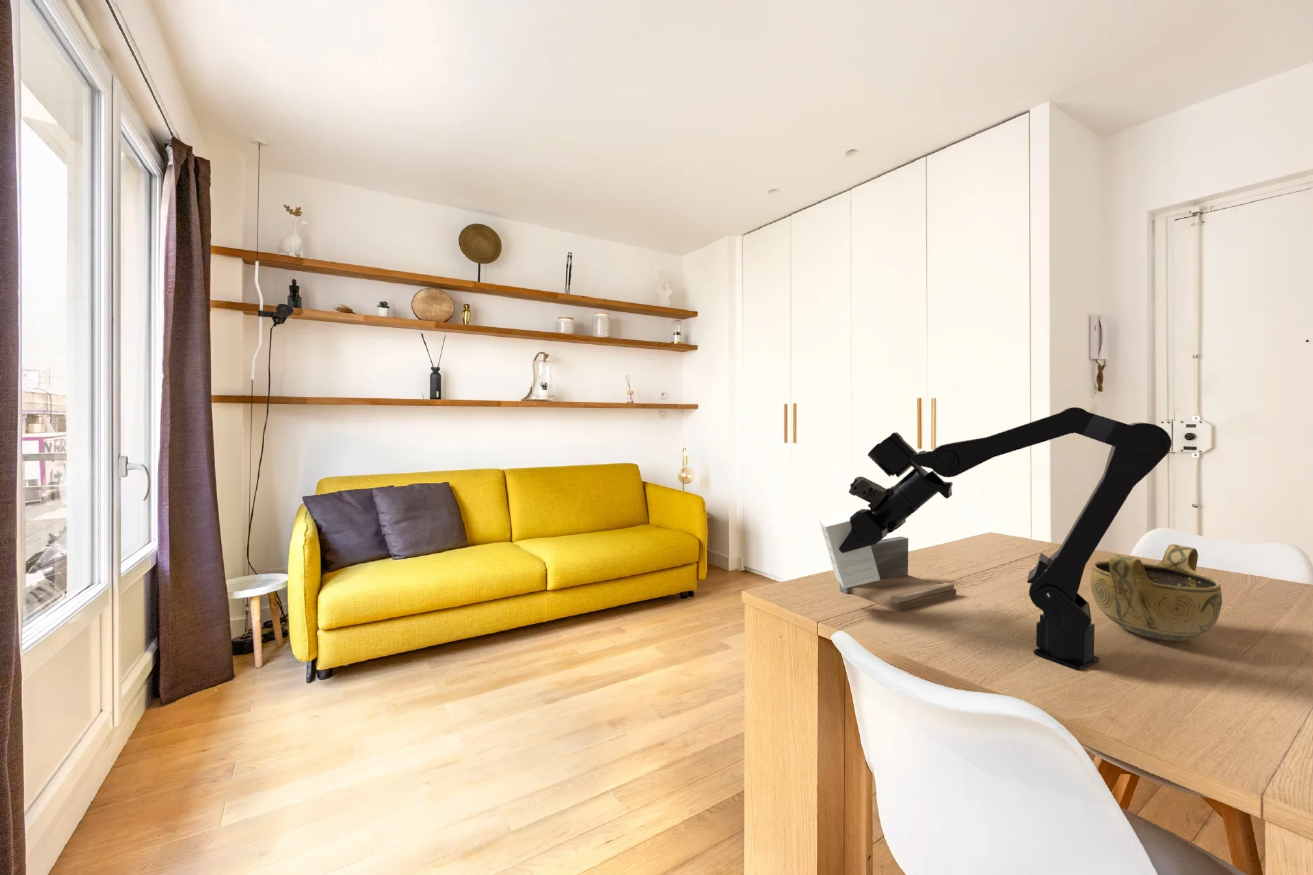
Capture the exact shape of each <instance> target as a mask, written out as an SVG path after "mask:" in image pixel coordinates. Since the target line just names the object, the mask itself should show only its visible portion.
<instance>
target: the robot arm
mask: <svg viewBox="0 0 1313 875" xmlns="http://www.w3.org/2000/svg"><path fill="white" fill-rule="evenodd" d="M1070 434H1077V435H1081V436H1084V437H1086V438H1089V439H1092V440H1095V441H1097V442H1100V443H1103V444H1106V445H1109V446H1111V447H1110V450H1109V453H1108V457H1107V461H1106V464H1105V467H1104V471H1103V473H1102V476H1101V478H1100V479H1099V481H1098V482H1097V484H1096V486H1095V487H1094V489H1093V491H1092V493H1091V494H1090V495H1089V498H1088V500H1087V501H1086V503H1085V505H1084V506H1083V508H1082V510H1081V512H1080V513H1079V514H1078V516H1077V518H1076V520H1075V521H1074V523H1073V525H1072V526H1071V529H1070V530H1069V531H1068V533H1067V534H1066V537H1065V538H1064V539H1063V542H1062V544H1060V547H1059V548H1058V549H1057V551H1056V552H1054V553H1053V554H1052V555H1051V556H1050V557H1048V556H1047V555H1045V554H1044V553H1040V554H1039V557H1038V560H1037V563H1036V565H1035V566H1034V567H1033V568H1032V569H1031V570H1030V571H1029V572H1028V575H1027V580H1026V582H1027V584H1029V589H1028V596H1029V598H1030V601H1031V602H1032V604H1033V605H1034V606H1035V607H1037V608H1038V609H1039V610H1041V611H1042V612H1043V613H1042V614H1039V621H1038V622H1036V626H1035V627H1036V628H1035V629H1036V633H1035V639H1036V641H1035V646H1036V647H1037V648H1035V649H1033V654H1034V655H1037V656H1039V657H1041V658H1042V657H1043V658H1045V659H1048V660H1051V661H1053V662H1056V663H1058V664H1062V665H1065V666H1067V667H1070V668H1073V669H1075V670H1082V669H1084V668H1087V667H1089V666H1092V665H1093V664H1096V663H1098V662H1100V657H1099V656H1095V631H1096V630H1095V623H1092V614H1091V613H1092V612H1091V607H1090V603H1089V602H1088V601H1087V600H1086V599H1085V598H1084V597H1082V595H1081V594H1080V593H1078V591H1079V589H1080V585H1081V582H1082V578H1083V576H1084V571H1085V568H1086V565H1087V564H1088V561H1089V560H1090V558H1091V556H1092V555H1093V554H1094V552H1095V551H1096V549H1097V547H1098V545H1099V544H1100V542H1101V541H1102V539H1103V537H1105V536H1104V535H1105V534H1106V532H1107V531H1108V529H1109V528H1110V526H1111V524H1112V523H1113V521H1114V519H1115V517H1116V516H1117V515H1118V513H1119V511H1120V510H1121V508H1122V507H1123V505H1124V503H1125V502H1126V500H1127V498H1128V497H1129V495H1130V494H1131V492H1132V490H1133V489H1134V488H1135V486H1136V485H1137V484H1138V483H1139V482H1140V481H1141V480H1143V479H1144V478H1146V476H1147V475H1148V474H1149V473H1150V472H1152V470H1153V469H1154V468H1155V467H1156V466H1158V465H1159V463H1160V462H1162V460H1163V459H1164V458H1165V457H1166V456H1167V455H1168V453H1169V452H1170V451H1171V448H1172V445H1173V444H1172V442H1173V441H1172V437H1171V436H1170V434H1169V432H1168V431H1166V429H1165V428H1163V427H1161V426H1159V425H1158V424H1153V423H1148V422H1142V421H1141V422H1132V423H1129V424H1128V423H1125V422H1121V421H1119V420H1114V419H1112V418H1109V417H1106V416H1102V415H1099V414H1095V413H1092V412H1090V411H1087V410H1086V409H1084V408H1081V407H1076V406H1075V407H1074V406H1073V407H1068V408H1066V409H1064V410H1062V411H1060V412H1058V413H1056V414H1052V415H1049V416H1046V417H1043V418H1039V419H1037V420H1035V421H1031V422H1028V423H1025V424H1022V425H1020V426H1016V427H1013V428H1010V429H1007V430H1005V431H1004V430H1003V431H1002V432H998V433H995V434H992V435H989V436H985V437H980V438H979V437H978V438H975V439H974V438H973V439H967V440H961V441H960V440H959V441H955V442H949V443H945V444H941V445H939V446H936V447H935V448H934V449H933V450H931V451H930V450H929V451H928V450H927V451H926V450H920V451H919V452H917V451H916V450H915V449H914V448H913V447H912V446H911V445H910V444H909V443H908V442H906V441H905V439H904V438H903V436H902V435H901V434H900V433H899V432H896V431H895V432H892V433H891V434H890V435H889V436H888V437H886V438H884V439H883V440H882V441H881V442H879V443H877V444H876V445H874V446H873V448H872V449H871V450H870V451H869V452H868V453H867V457H868V458H870V459H871V460H872V462H874V464H876V465H877V466H878V467H879V468H880V469H881V471H883V472H884V473H885V474H886V475H887V476H888V477H891V476H892V477H894V476H896V477H897V478H900V477H901V476H903V475H904V474H906V472H907V471H908V470H910V469H911V467H912V470H911V471H909V473H907V474H906V475H905V476H904V477H902V478H901V480H899V481H898V482H897V483H896V484H895V485H894V486H893V485H892V486H891V487H887V488H886V487H884V486H882V485H881V484H878V483H877V482H875V481H873V480H870V479H869V478H866V477H864V476H861V475H860V476H858V477H857V476H856V477H855V478H854V479H853V482H851V483H850V484H849V490H848V493H849V494H850V495H851V496H853V497H854V496H855V497H858V498H859V499H861V500H864V501H866V502H867V503H869V504H868V505H867V507H868V508H869V509H867V508H861V509H859V510H857V511H855V512H854V513H855V514H853V515H852V516H851V517H850V524H851V531H850V533H849V534H848V536H847V537H846V539H845V540H844V542H843V543H842V545H841V546H840V547H839V550H840V551H841V552H842V553H845V552H849V551H852V550H856V549H860V548H863V547H867V546H871V545H875V544H876V543H878V542H879V541H880V540H883V539H885V537H887V536H888V534H890V533H893V532H894V531H896V530H898V529H899V528H900V527H901V526H904V525H905V523H906V522H907V519H908V518H909V517H910V516H911V515H913V514H914V513H916V512H917V511H918V510H919V509H920V508H921V507H922V506H923V505H925V504H926V503H927V502H928V501H929V500H930V499H932V498H933V497H935V496H936V495H937V494H938V493H939V494H940V495H941V496H942V497H943V498H944V499H949V498H950V497H952V496H953V492H952V491H953V490H952V489H953V488H952V487H953V481H944V480H943V479H942V478H941V477H943V478H954V477H956V476H959V475H962V474H963V473H965V472H967V471H969V470H971V469H973V468H975V467H977V466H979V465H981V464H982V463H985V462H987V461H989V460H991V459H993V458H996V457H1000V456H1003V455H1007V454H1009V453H1012V452H1015V451H1018V450H1019V451H1020V450H1022V449H1024V448H1025V449H1026V448H1028V447H1032V446H1034V445H1038V444H1041V443H1045V442H1048V441H1051V440H1054V439H1057V438H1061V437H1064V436H1066V435H1070ZM925 468H927V469H932V470H931V471H930V472H928V471H927V470H926V469H925Z"/></svg>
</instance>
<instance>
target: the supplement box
mask: <svg viewBox="0 0 1313 875" xmlns="http://www.w3.org/2000/svg"><path fill="white" fill-rule="evenodd" d="M855 513H856V512H854V511H852V512H848V513H846V514H845V513H844V514H841V515H836V516H833V517H828V518H825V519H821V520H819V524H820V527H821V530H822V535H823V538H824V541H825V544H826V545H825V546H826V547H827V551H828V555H829V560H830V562H831V563H830V564H831V565H832V570H833V574H834V576H835V579H836V580H837V581H838V583H839V585H840V584H841V586H842V587H843V588H848V587H852V586H857V585H861V584H865V583H870V582H874V581H878V580H880V577H879V573H878V570H877V566H876V563H875V559H874V556H873V552H872V549H871V546H867V547H863V548H860V549H856V550H852V551H849V552H845V553H842V552H841V551H840V550H839V547H840V546H841V545H842V543H843V542H844V540H845V539H846V537H847V536H848V534H849V533H850V531H851V524H850V517H851V516H852V515H853V514H855Z"/></svg>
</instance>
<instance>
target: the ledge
mask: <svg viewBox="0 0 1313 875" xmlns="http://www.w3.org/2000/svg"><path fill="white" fill-rule="evenodd" d="M871 549H872V552H873V556H874V559H875V563H876V566H877V570H878V573H879V577H880V580H878V581H874V582H870V583H865V584H861V585H857V586H852V587H848V588H843V587H842V586H841V584H840V583H839V592H841V593H844V594H851V595H854V596H857V595H858V596H857V597H860V598H864V599H865V600H868V601H871V602H873V603H876V604H879V605H880V606H884V607H886V606H887V607H886V608H889V609H892V610H895V611H897V610H898V611H897V612H902V611H901V610H903V611H907V610H910V609H909V608H911V609H914V608H913V607H915V608H917V607H916V606H918V607H922V606H926V605H929V604H933V603H936V602H941V601H944V600H948V598H949V599H952V598H955V596H956V597H957V589H956V588H955V584H954V583H951V582H948V581H947V582H944V583H936V582H931V581H928V580H925V579H921V578H918V577H915V576H911V575H909V537H906V536H896V537H890V538H889V537H888V538H883V539H882V540H880V541H879V542H878V543H876V544H875V545H871ZM925 604H926V605H925ZM921 605H922V606H921ZM906 609H907V610H906Z"/></svg>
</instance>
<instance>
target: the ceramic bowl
mask: <svg viewBox="0 0 1313 875" xmlns="http://www.w3.org/2000/svg"><path fill="white" fill-rule="evenodd" d="M1198 560H1199V553H1198V550H1197V549H1196V548H1195V547H1190V546H1185V545H1181V544H1173V543H1172V544H1169V545H1168V546H1167V548H1166V550H1165V552H1164V554H1163V557H1162V560H1161V561H1160V562H1159V563H1157V564H1155V563H1149V562H1147V563H1146V562H1142V560H1141V559H1139V558H1138V557H1137V558H1136V557H1132V556H1125V555H1118V554H1112V555H1111V556H1110V558H1109V560H1098V561H1095V562H1093V563H1092V567H1091V572H1090V589H1091V593H1092V598H1093V600H1094V602H1095V604H1096V606H1097V607H1098V609H1099V610H1100V611H1101V612H1102V613H1103V614H1104V615H1105V616H1106V617H1107V618H1108V619H1109V620H1110V621H1112V622H1113V623H1115V624H1117V625H1118V626H1120V627H1122V628H1124V629H1125V630H1127V631H1129V632H1132V633H1133V634H1134V635H1135V634H1136V635H1139V636H1141V637H1145V638H1149V639H1152V640H1157V641H1164V642H1165V641H1166V642H1168V641H1169V642H1178V641H1187V640H1190V639H1194V638H1197V637H1200V636H1202V635H1204V634H1205V633H1207V632H1209V630H1211V629H1212V628H1213V627H1214V625H1215V624H1216V623H1217V621H1218V619H1219V618H1220V614H1221V610H1222V605H1223V596H1222V595H1223V594H1222V588H1221V587H1222V586H1221V583H1220V582H1219V581H1218V579H1216V578H1213V577H1211V576H1209V575H1206V574H1202V573H1198V572H1196V570H1197V566H1198Z"/></svg>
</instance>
